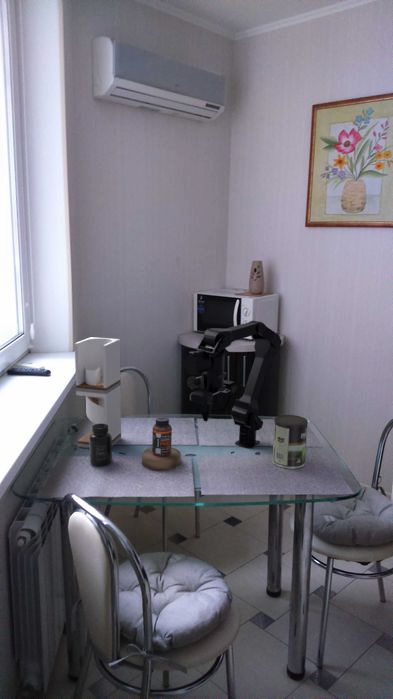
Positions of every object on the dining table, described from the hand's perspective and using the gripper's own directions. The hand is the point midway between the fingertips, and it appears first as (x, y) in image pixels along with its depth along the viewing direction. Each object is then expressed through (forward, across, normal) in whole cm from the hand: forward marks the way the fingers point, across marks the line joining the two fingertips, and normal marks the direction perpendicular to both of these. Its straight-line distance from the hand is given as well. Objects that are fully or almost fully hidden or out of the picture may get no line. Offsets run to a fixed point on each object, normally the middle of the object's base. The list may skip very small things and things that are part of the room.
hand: (213, 417), depth 173 cm
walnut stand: (+13, +14, -10) cm, 22 cm away
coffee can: (+13, -10, +22) cm, 28 cm away
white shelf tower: (+13, +13, -37) cm, 41 cm away
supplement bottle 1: (+13, +25, -25) cm, 38 cm away
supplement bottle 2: (+10, +14, -10) cm, 20 cm away
